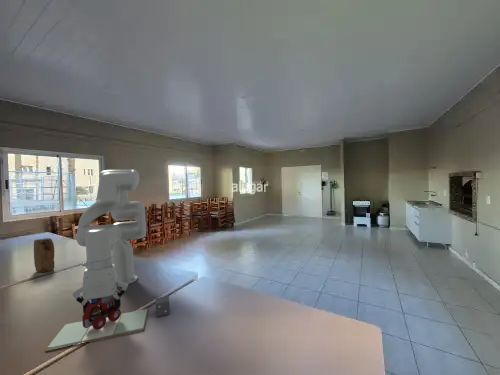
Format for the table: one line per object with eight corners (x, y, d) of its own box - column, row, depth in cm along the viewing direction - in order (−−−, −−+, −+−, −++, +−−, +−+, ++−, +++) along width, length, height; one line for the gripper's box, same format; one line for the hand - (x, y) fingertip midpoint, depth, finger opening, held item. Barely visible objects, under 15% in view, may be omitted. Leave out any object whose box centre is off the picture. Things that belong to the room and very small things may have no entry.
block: (33, 271, 144) (31, 239, 144) (48, 267, 151) (46, 236, 151) (42, 273, 140) (40, 240, 139) (57, 269, 147) (55, 238, 146)
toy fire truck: (78, 329, 79) (76, 299, 79) (115, 311, 90) (114, 284, 90) (88, 335, 76) (86, 304, 75) (125, 316, 86) (124, 288, 86)
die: (155, 298, 92) (169, 295, 94) (155, 311, 92) (169, 308, 94) (155, 304, 88) (169, 301, 90) (155, 317, 88) (170, 314, 89)
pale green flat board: (65, 325, 85) (65, 323, 85) (148, 310, 93) (148, 308, 93) (45, 352, 72) (44, 349, 72) (143, 330, 80) (143, 328, 80)
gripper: (65, 271, 76) (69, 323, 76) (124, 263, 81) (127, 312, 82) (75, 263, 83) (78, 311, 84) (129, 257, 88) (131, 301, 89)
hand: (102, 311), depth 83 cm, fingers closed on toy fire truck, 8 cm apart
